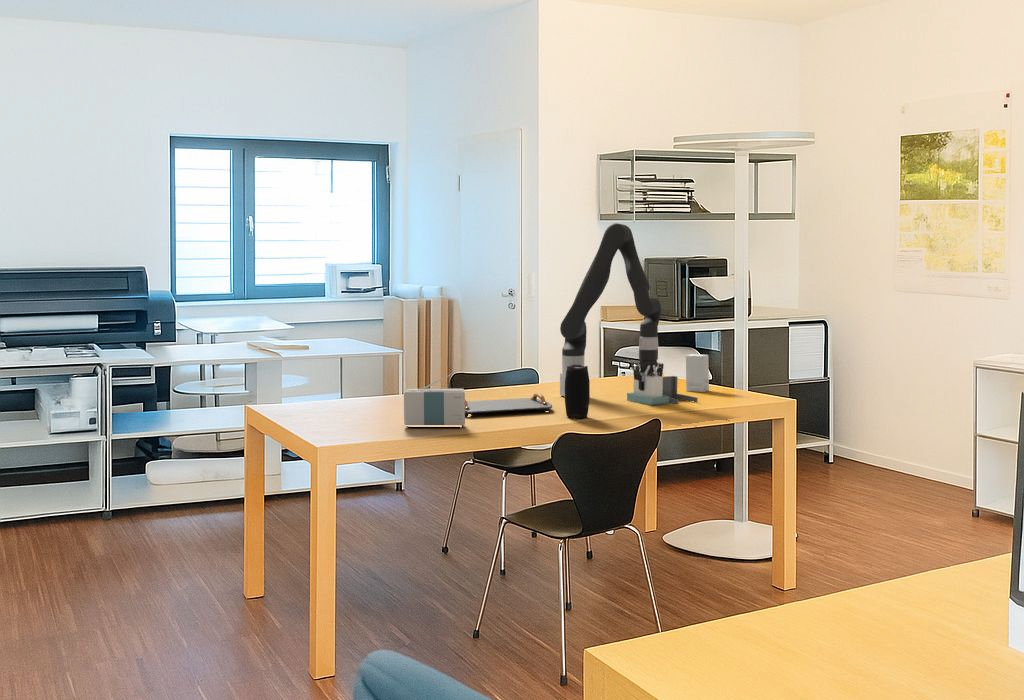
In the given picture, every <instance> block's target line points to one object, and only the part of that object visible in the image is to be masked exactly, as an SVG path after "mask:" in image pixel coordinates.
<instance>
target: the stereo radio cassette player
mask: <svg viewBox="0 0 1024 700" xmlns="http://www.w3.org/2000/svg"><path fill="white" fill-rule="evenodd" d="M460 371H461V369H458V370H457V371H454V372H452V373H450V374H448V375H446V376H443V377H442V378H440V379H438V380H436V381H433V382H432V383H430V384H428V385H426V386H423V387H422V388H406V389H405V390H404V392H403V420H404V421H403V425H404V424H405V425H464V426H465V425H466V413H465V400H466V395H465V394H466V393H465V389H464V388H429V387H431V386H432V385H435V384H437V383H439V382H441V381H443V380H445V379H446V378H449V377H450V376H452V375H454V374H456V373H457V372H460ZM405 425H404V426H405Z"/></svg>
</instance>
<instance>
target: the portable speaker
mask: <svg viewBox="0 0 1024 700" xmlns="http://www.w3.org/2000/svg"><path fill="white" fill-rule="evenodd" d="M588 369H589V368H588V365H584V366H581V365H571V366H567V370H566V377H565V397H564V406H565V414H566V415H565V416H566V417H567V416H570V417H569V418H571V419H572V418H583V417H584V416H585V417H584V418H588V415H589V407H590V399H591V397H590V395H591V393H590V391H591V390H590V384H591V382H590V376H589V375H590V374H589V370H588Z"/></svg>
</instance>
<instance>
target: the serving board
mask: <svg viewBox="0 0 1024 700" xmlns="http://www.w3.org/2000/svg"><path fill="white" fill-rule="evenodd" d="M538 398H539V399H538ZM552 408H553V405H552V403H550V402H549V401H546V398H545V396H544V395H542V394H541V393H533V395H532V396H531V397H530V398H529V397H526V398H522V397H521V398H507V399H487V400H472V401H471V400H470V401H467V399H465V414H466V415H467V414H472V415H473V414H479V413H480V414H481V413H495V412H496V413H497V412H511V411H526V410H527V411H528V410H529V411H530V410H542V409H543V410H544V412H545V411H550V412H551V409H552Z"/></svg>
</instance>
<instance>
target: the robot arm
mask: <svg viewBox="0 0 1024 700" xmlns="http://www.w3.org/2000/svg"><path fill="white" fill-rule="evenodd" d="M634 240H635V239H634V236H633V233H632V230H631V228H630V227H629V226H627V225H626V224H623V223H617V222H615V223H611V224H610V225H609V226H608V227H606V229H605V231H604V234H603V236H602V238H601V242H600V244H599V246H598V250H597V252H596V254H595V256H594V258H593V260H592V262H591V264H590V266H589V268H588V269H587V272H586V274H585V276H584V278H583V279H582V283H581V284H580V287H579V288H578V291H577V293H576V296H575V299H574V301H573V303H572V305H570V306H571V307H570V308H569V309H568V312H567V313H566V315H565V316H564V318H563V320H562V321H561V322H560V327H559V329H560V334H561V335H562V337H563V338H564V344H563V347H562V349H561V350H562V353H561V354H562V355H561V356H562V357H561V364H562V365H561V373H560V374H559V375H560V376H559V396H560V395H561V396H560V397H562V396H564V397H563V398H565V377H566V370H567V366H571V365H581V366H585V354H586V353H585V350H586V348H587V332H588V331H587V323H586V318H587V315H588V314H589V312H590V310H591V309H592V308H593V306H594V304H595V303H596V302H597V301H598V300H599V299H600V297H601V295H602V294H603V292H604V290H605V288H606V287H607V284H608V282H609V280H610V275H611V269H612V268H611V267H612V263H613V260H614V258H615V255H616V253H617V252H618V251H619V252H620V254H621V256H622V259H623V262H624V265H625V273H626V276H627V277H626V278H627V280H628V283H629V285H630V287H631V290H632V292H633V299H634V303H635V308H636V310H637V312H638V313H639V314H640V316H644V320H643V321H642V322H641V323H640V326H639V341H638V360H639V363H638V364H633V365H632V371H633V380H634V379H635V380H638V381H639V390H640V391H644V382H643V381H644V379H645V376H647V374H649V373H654V375H656V376H662V377H663V375H664V374H663V372H664V363H662V362H658V360H659V338H658V337H659V335H658V333H659V332H658V331H659V330H658V329H659V328H658V326H659V323H660V320H661V319H660V318H661V314H662V305H661V302H660V300H659V299H658V298H656V297H650V295H649V291H650V289H651V284H650V283H649V281H648V278H647V276H646V273H645V271H644V267H642V264H641V261H640V258H639V255H638V252H637V248H636V244H635V241H634ZM595 305H596V304H595Z"/></svg>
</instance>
